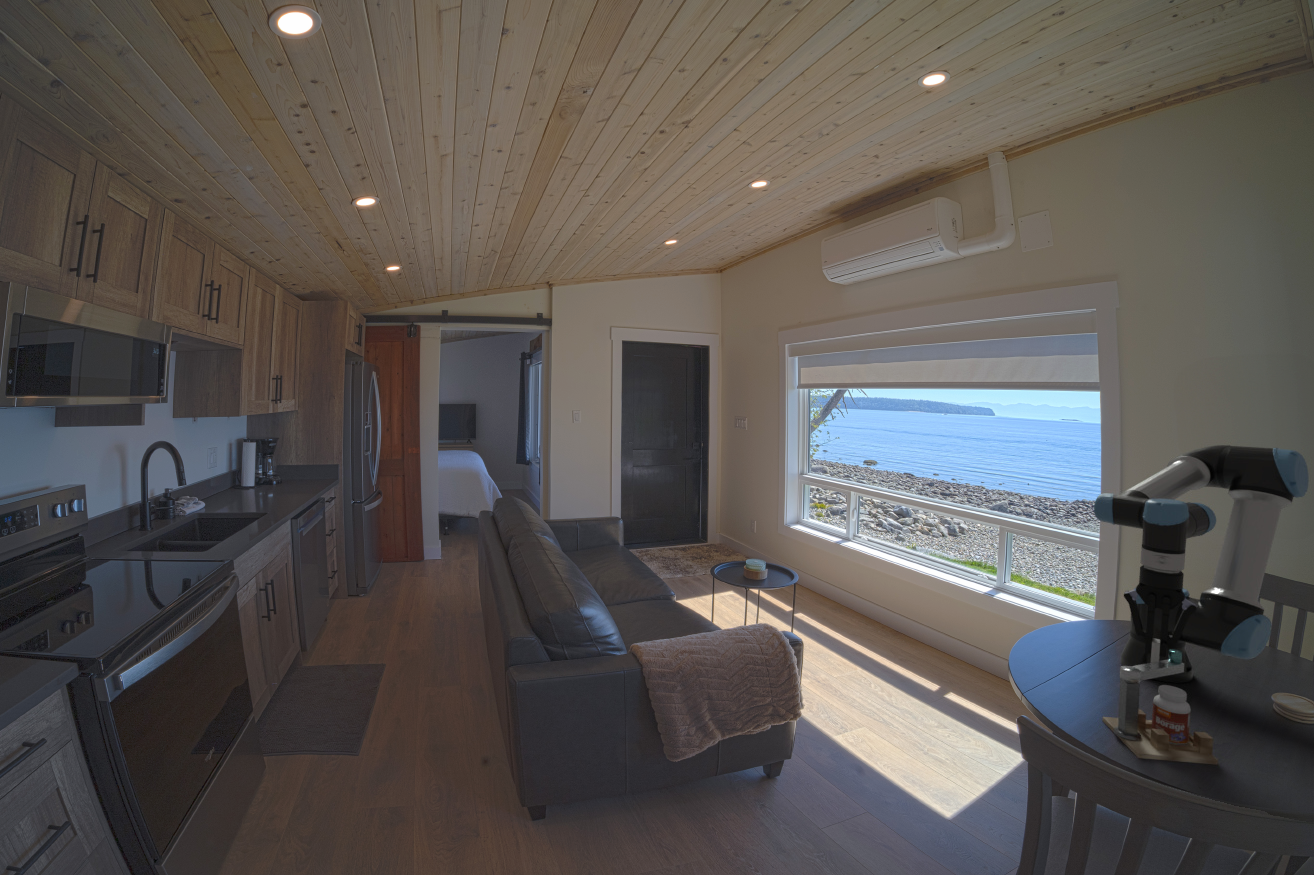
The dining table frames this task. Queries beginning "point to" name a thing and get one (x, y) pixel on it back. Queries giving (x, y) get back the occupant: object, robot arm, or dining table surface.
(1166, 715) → the pill bottle
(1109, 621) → the dining table surface
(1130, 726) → the post
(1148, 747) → the socket board
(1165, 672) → the keeper bar
